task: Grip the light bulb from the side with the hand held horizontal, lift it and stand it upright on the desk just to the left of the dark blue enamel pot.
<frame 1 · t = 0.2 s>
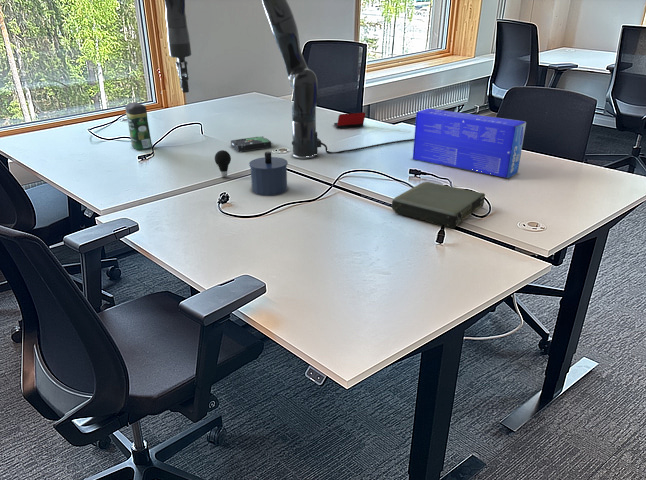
hand: (184, 90, 210), 29 cm above the table, tool pointing down, fingers open, 8 cm apart
disk drive: (251, 147, 247), on the table
coffee jar: (142, 147, 252), on the table
handheld console: (349, 127, 271), on the table
blue cardboard box: (462, 167, 216), on the table
network switch: (437, 211, 180), on the table
light bulb: (224, 178, 214), on the table
pot: (269, 189, 201), on the table
pot lid: (268, 164, 196), point 9 cm above the table, touching pot
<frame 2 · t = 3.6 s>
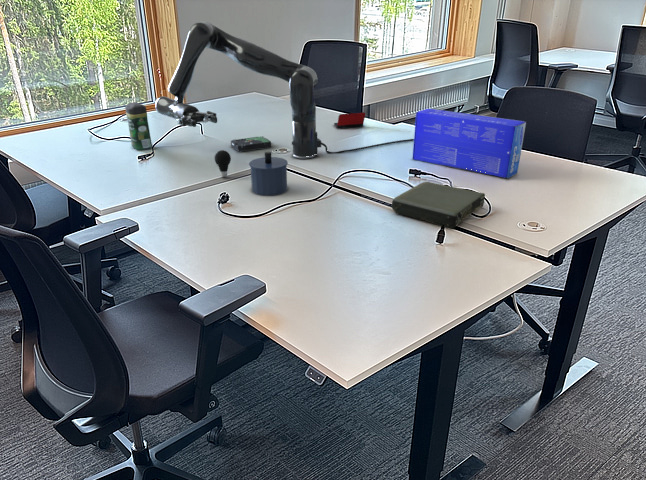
hand: (205, 122, 212), 18 cm above the table, tool horizontal, fingers open, 8 cm apart
nothing on the table moved.
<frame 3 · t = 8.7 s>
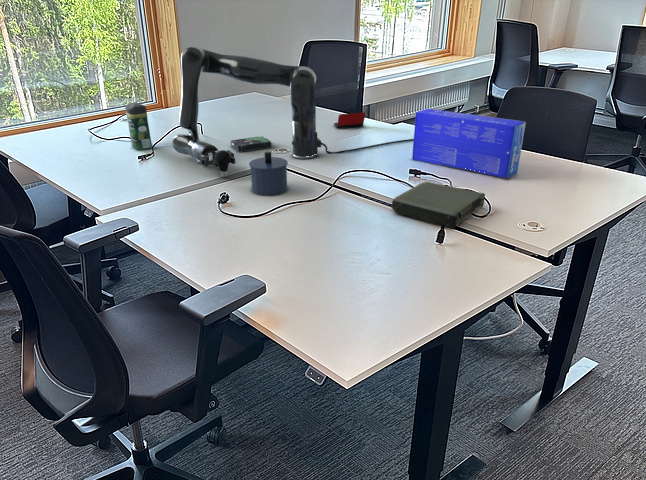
hand: (226, 163, 209), 6 cm above the table, tool horizontal, fingers closed on light bulb, 6 cm apart
light bulb: (224, 178, 214), on the table, touching gripper
everything else where it was.
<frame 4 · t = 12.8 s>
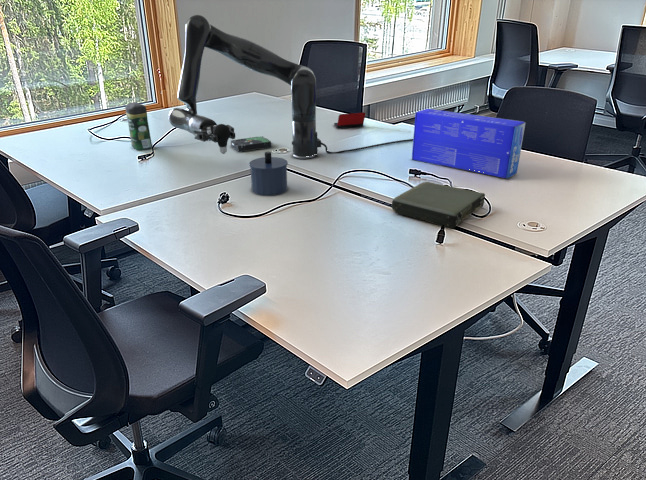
hand: (225, 137, 194), 18 cm above the table, tool horizontal, fingers closed on light bulb, 6 cm apart
light bulb: (223, 154, 199), point 11 cm above the table, touching gripper
everything else where it was.
when the fingers open (6 cm above the table, at t = 17.1 s): light bulb stays where it is, on the table.
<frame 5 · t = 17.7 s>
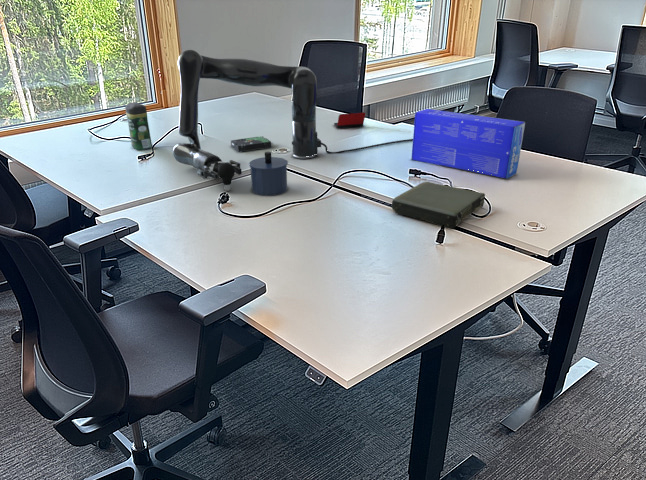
hand: (229, 174, 196), 6 cm above the table, tool horizontal, fingers open, 8 cm apart
light bulb: (227, 191, 201), on the table
everything else where it was.
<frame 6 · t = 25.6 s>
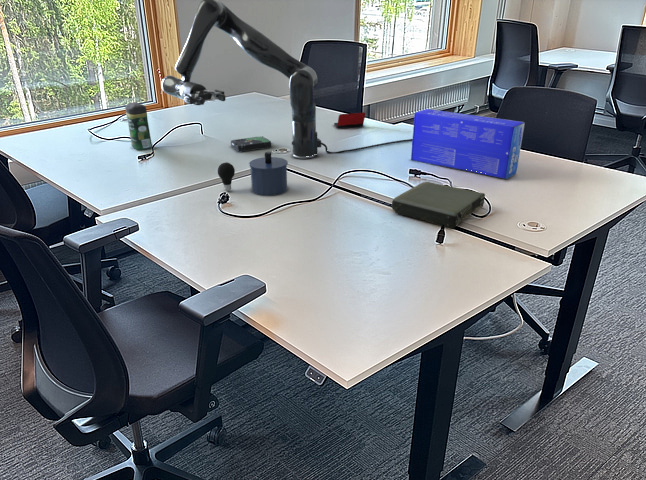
hand: (213, 99, 207), 26 cm above the table, tool horizontal, fingers open, 8 cm apart
at the end: light bulb inside the target area on the table beside the pot (0.6 cm from its centre), on the table; light bulb tilted 0°; the gripper is holding nothing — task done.
